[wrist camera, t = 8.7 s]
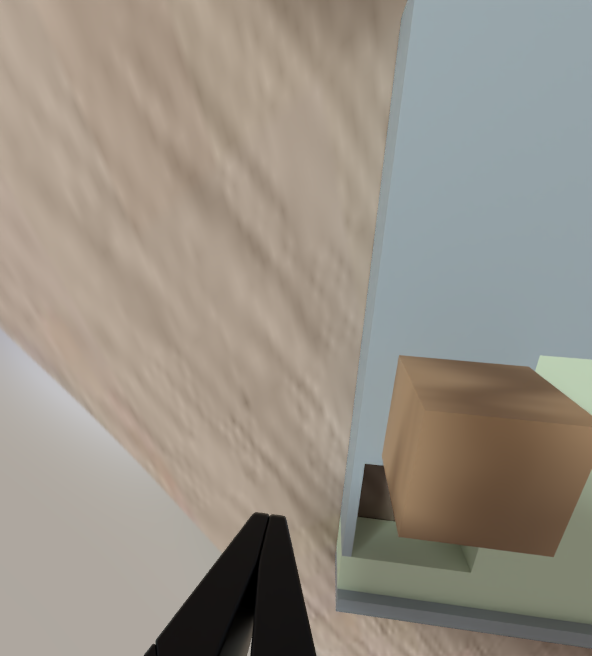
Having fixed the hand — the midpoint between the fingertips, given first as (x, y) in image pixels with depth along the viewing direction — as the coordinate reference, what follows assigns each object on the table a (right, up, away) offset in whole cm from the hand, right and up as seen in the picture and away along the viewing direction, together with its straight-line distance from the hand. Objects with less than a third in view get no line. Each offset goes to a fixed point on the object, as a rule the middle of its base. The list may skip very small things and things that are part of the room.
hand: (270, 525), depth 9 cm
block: (+7, +1, +5) cm, 9 cm away
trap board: (+11, +3, +7) cm, 14 cm away
